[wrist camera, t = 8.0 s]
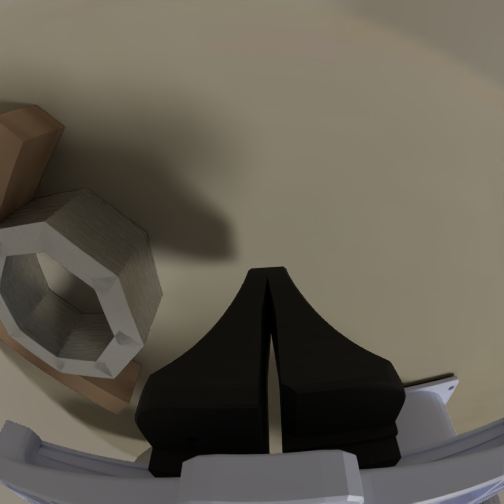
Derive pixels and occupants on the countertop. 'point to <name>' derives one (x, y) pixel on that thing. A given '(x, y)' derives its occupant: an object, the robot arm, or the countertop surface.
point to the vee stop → (17, 195)
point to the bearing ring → (87, 269)
